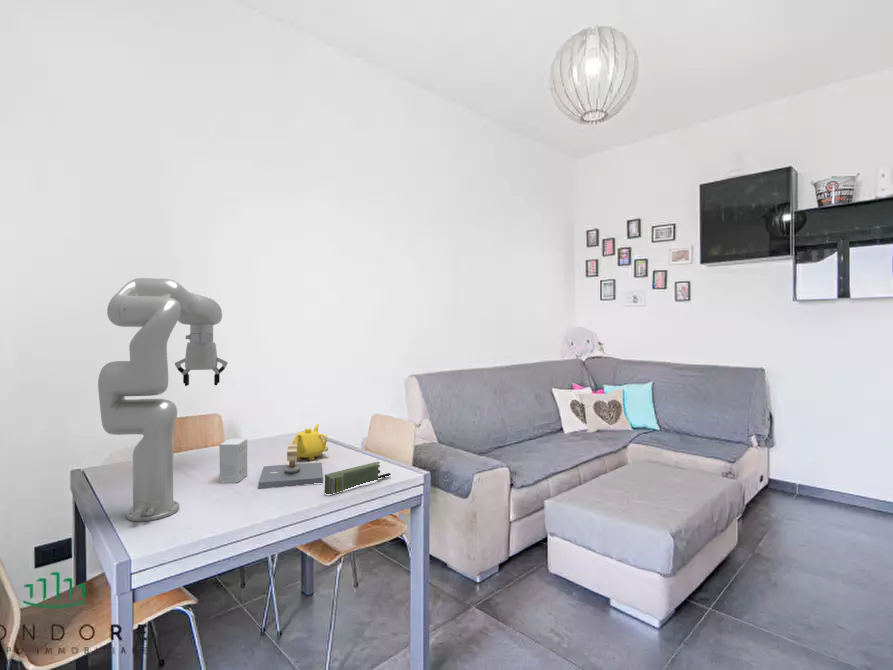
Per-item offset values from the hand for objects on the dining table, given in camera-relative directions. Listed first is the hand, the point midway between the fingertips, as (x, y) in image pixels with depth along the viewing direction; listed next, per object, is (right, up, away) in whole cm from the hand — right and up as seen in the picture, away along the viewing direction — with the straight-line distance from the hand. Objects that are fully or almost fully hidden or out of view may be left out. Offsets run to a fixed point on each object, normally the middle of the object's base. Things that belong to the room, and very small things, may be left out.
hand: (201, 385), depth 172 cm
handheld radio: (+61, -32, -18) cm, 71 cm away
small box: (+18, -31, -13) cm, 38 cm away
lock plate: (+37, -31, -10) cm, 49 cm away
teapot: (+36, -31, +14) cm, 49 cm away
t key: (+37, -29, -10) cm, 48 cm away
